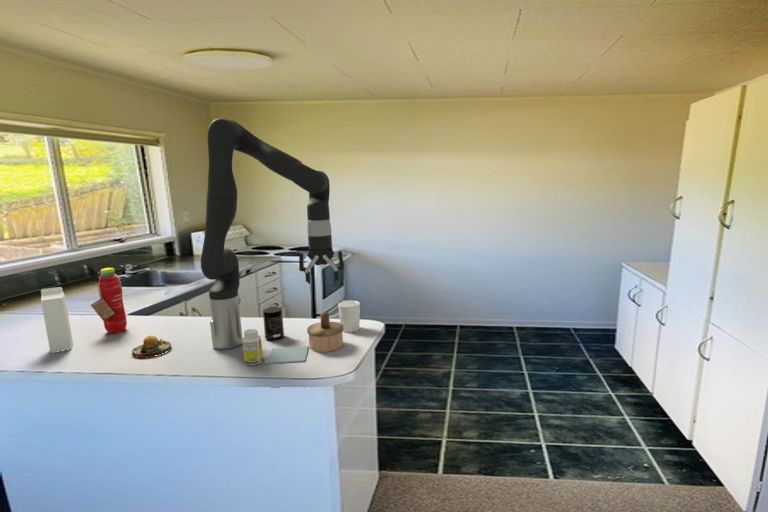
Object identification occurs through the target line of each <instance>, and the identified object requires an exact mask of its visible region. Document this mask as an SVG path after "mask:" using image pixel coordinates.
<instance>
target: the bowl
mask: <svg viewBox="0 0 768 512" xmlns="http://www.w3.org/2000/svg"><path fill="white" fill-rule="evenodd" d="M343 336H344V335H343V331H342V332H341V333H339V334H336V335H333V336H326V337H317V336H312V335H309V334H308V343H309V345H308V346H309V349H310V350H311V351H313V352H315V353H330V352H334V351H338V350H340V349H341V348H342V347H343V346H344V343H343V342H344V339H343V338H344V337H343Z"/></svg>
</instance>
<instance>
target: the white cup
mask: <svg viewBox="0 0 768 512" xmlns="http://www.w3.org/2000/svg"><path fill="white" fill-rule="evenodd" d="M337 306H338V316H339V323H341V324H343V328H344V329H343V331H342V333H354V332H357V331H359V330H360V322H361V321H360V320H361V317H360V315H361V313H360V311H361V307H360V306H361V303H360V301H358V300H343V301H340V302H338V305H337Z"/></svg>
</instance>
